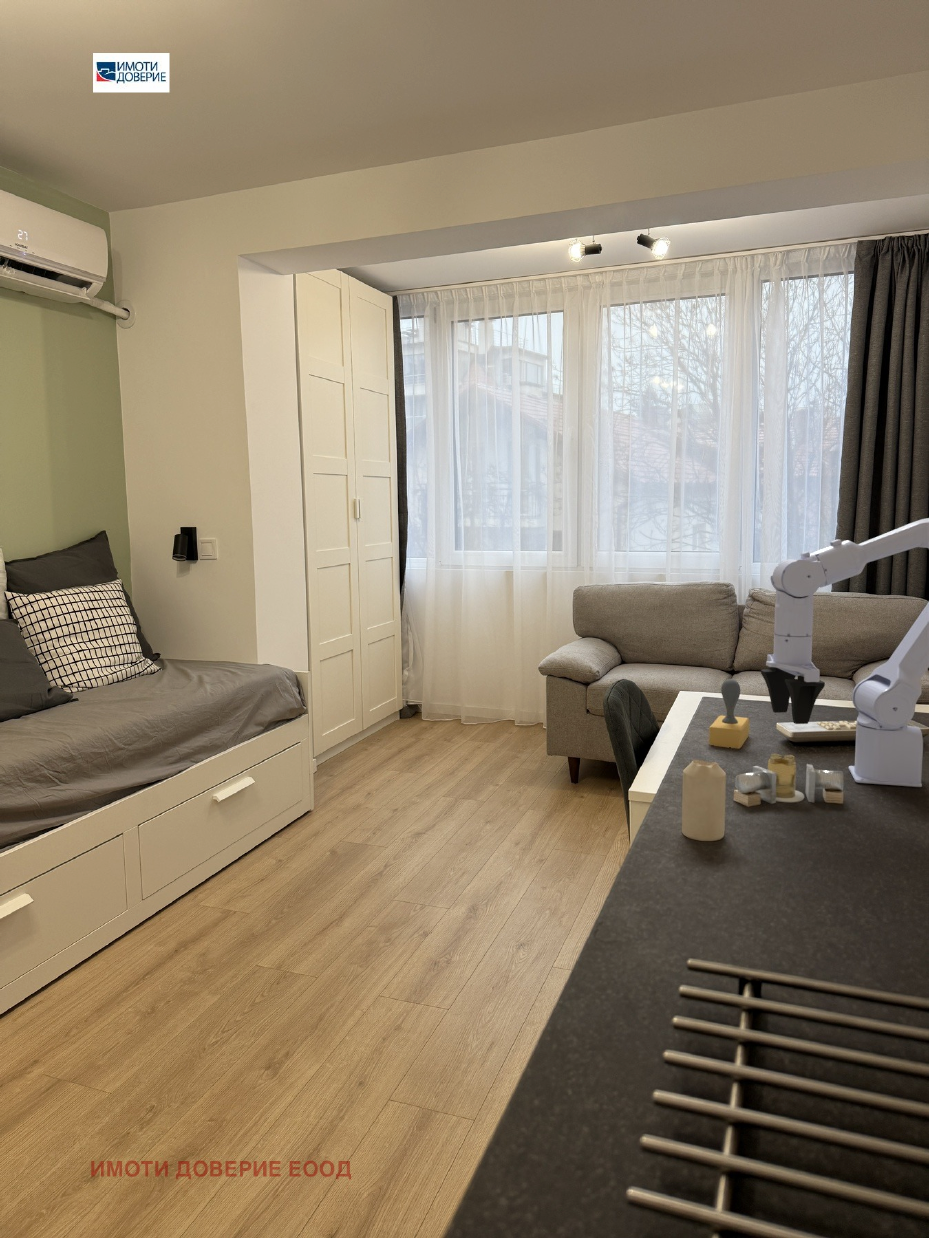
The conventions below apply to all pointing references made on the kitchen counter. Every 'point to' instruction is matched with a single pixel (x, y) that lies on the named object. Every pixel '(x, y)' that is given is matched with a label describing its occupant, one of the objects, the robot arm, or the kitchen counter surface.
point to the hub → (783, 774)
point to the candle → (703, 801)
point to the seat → (796, 798)
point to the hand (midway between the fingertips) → (790, 717)
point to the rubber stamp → (729, 720)
